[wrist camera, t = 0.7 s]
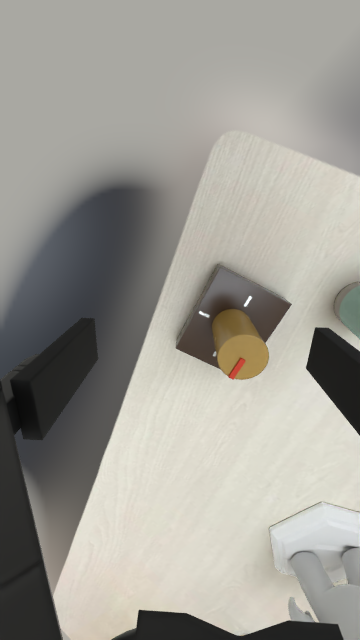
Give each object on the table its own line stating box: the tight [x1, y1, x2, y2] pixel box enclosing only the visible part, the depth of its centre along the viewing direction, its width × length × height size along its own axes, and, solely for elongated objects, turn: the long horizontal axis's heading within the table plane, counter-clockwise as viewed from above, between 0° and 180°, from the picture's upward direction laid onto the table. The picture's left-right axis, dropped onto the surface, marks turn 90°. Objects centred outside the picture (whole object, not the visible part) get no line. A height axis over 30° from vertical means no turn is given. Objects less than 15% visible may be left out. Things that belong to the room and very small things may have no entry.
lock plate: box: [176, 264, 292, 369], centre depth 34 cm, size 12×10×3 cm
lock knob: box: [212, 309, 269, 380], centre depth 29 cm, size 5×5×8 cm
